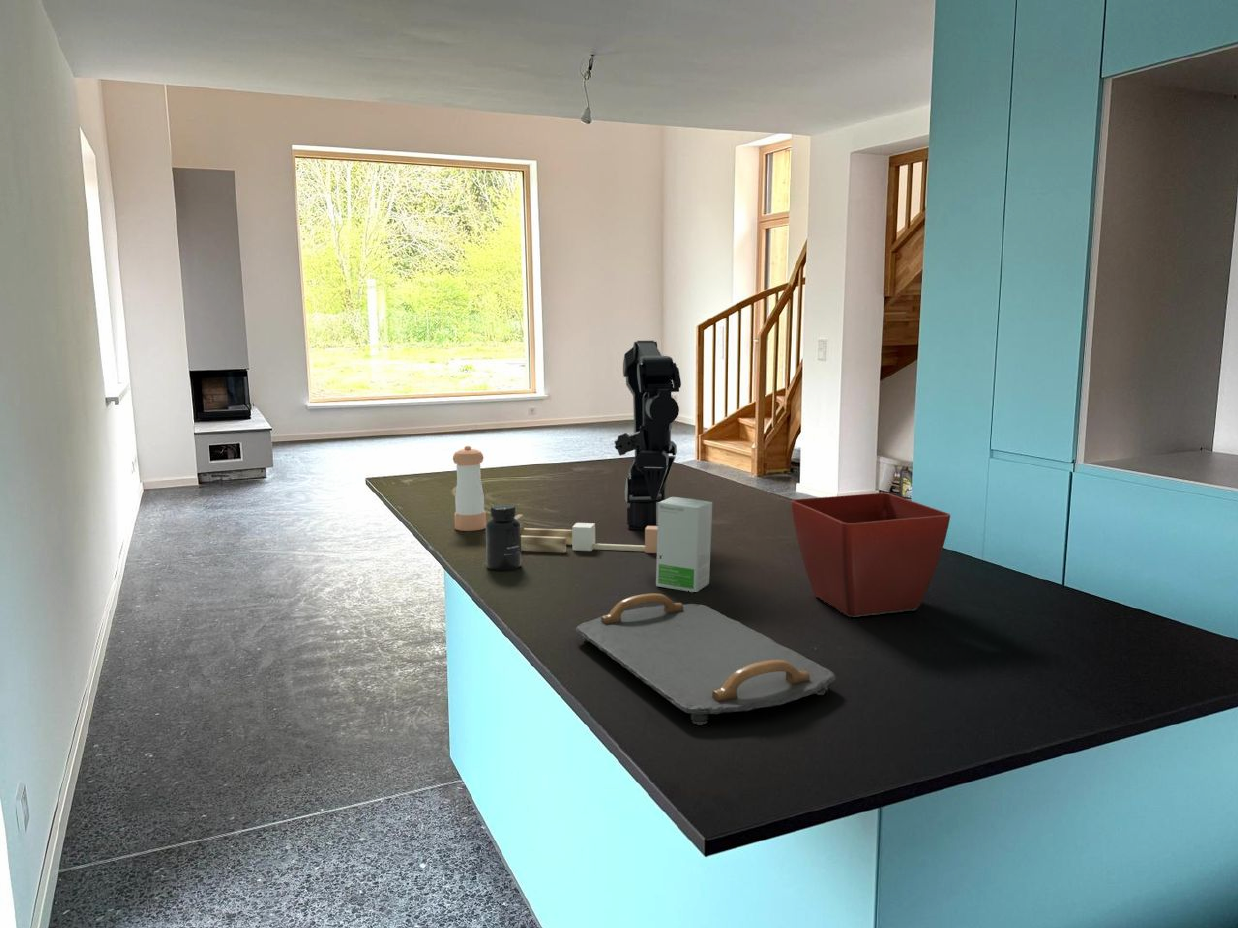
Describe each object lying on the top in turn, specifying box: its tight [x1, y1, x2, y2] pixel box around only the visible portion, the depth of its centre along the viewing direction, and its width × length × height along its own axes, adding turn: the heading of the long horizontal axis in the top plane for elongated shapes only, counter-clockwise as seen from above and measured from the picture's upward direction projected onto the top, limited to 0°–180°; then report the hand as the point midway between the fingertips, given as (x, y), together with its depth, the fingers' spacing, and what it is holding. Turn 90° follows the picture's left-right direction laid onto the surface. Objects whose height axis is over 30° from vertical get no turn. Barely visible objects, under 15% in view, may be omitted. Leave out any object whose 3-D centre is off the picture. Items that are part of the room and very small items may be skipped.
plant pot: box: [790, 492, 951, 616], centre depth 147 cm, size 19×19×17 cm
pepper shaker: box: [452, 445, 487, 532], centre depth 205 cm, size 7×7×19 cm
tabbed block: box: [571, 522, 658, 554], centre depth 185 cm, size 18×4×5 cm, turn 79°
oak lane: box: [515, 513, 572, 553], centre depth 187 cm, size 12×8×6 cm, turn 80°
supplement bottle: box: [485, 504, 522, 572], centre depth 172 cm, size 7×7×12 cm
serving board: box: [574, 592, 837, 722], centre depth 122 cm, size 39×23×6 cm, turn 27°
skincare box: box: [655, 496, 713, 593], centre depth 158 cm, size 8×7×16 cm
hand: (656, 495), depth 182 cm, fingers open, 9 cm apart
